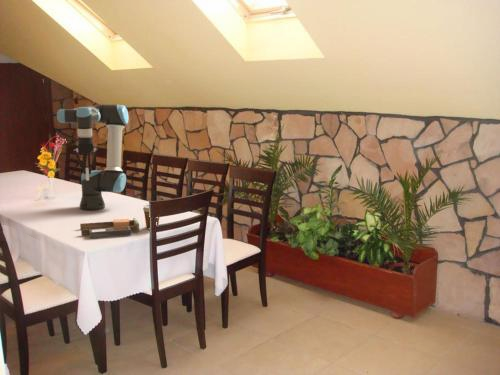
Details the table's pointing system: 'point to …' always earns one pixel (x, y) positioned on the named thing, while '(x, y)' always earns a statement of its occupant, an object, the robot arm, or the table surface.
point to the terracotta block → (121, 224)
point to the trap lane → (108, 229)
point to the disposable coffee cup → (147, 218)
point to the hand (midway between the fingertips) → (87, 179)
